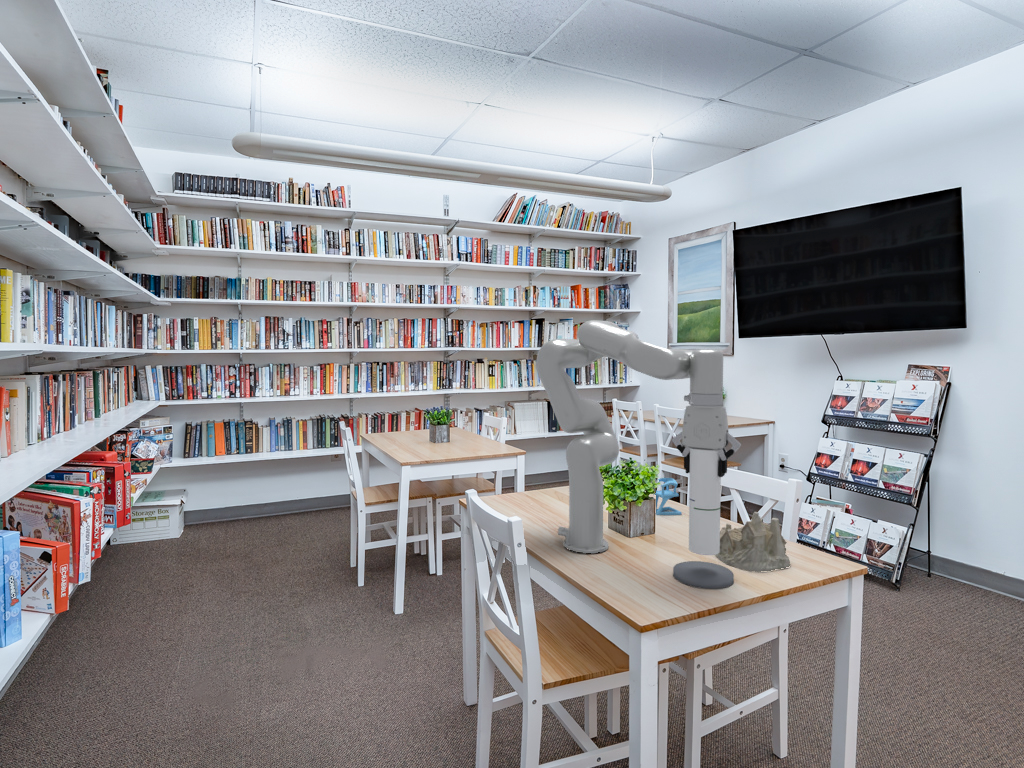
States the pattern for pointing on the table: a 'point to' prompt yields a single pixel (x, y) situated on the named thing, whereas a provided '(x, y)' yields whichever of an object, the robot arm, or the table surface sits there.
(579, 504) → the robot arm
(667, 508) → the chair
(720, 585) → the coaster
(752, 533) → the ceramic cottage
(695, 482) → the cylindrical container
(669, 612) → the table surface
